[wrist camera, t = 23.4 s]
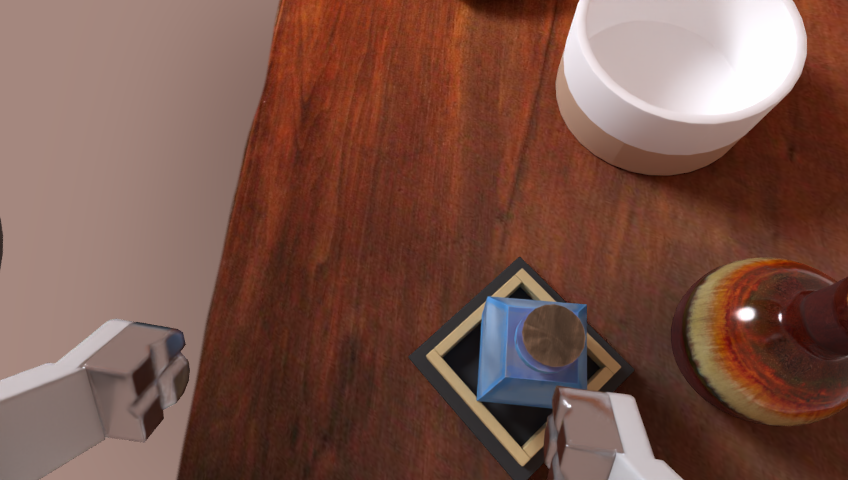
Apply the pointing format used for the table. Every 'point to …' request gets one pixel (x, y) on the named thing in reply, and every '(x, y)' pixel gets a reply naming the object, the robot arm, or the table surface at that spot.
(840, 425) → the table surface
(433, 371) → the picture frame
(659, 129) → the bowl
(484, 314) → the perfume bottle
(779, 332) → the vase
